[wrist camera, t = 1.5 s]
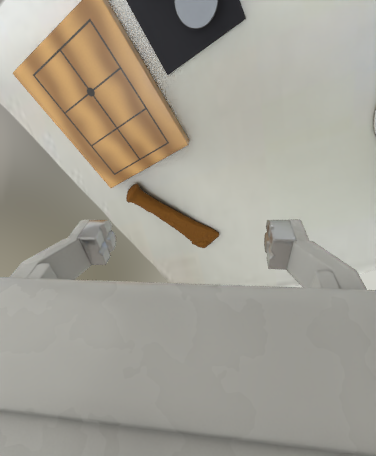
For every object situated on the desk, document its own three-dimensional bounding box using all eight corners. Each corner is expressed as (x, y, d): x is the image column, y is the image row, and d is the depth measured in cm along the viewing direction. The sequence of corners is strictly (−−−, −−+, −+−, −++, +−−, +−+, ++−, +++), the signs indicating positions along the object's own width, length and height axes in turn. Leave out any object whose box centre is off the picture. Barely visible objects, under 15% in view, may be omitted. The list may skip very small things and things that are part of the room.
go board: (100, -12, 28) (94, -14, 27) (189, 140, 38) (188, 145, 37) (20, 71, 35) (11, 73, 33) (114, 183, 45) (110, 188, 43)
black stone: (206, -38, 26) (204, -45, 24) (225, 12, 28) (225, 10, 26) (170, -7, 28) (165, -10, 25) (191, 38, 30) (188, 39, 28)
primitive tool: (220, 232, 49) (220, 245, 46) (203, 247, 52) (202, 259, 49) (136, 178, 44) (130, 188, 41) (122, 198, 47) (116, 209, 44)
